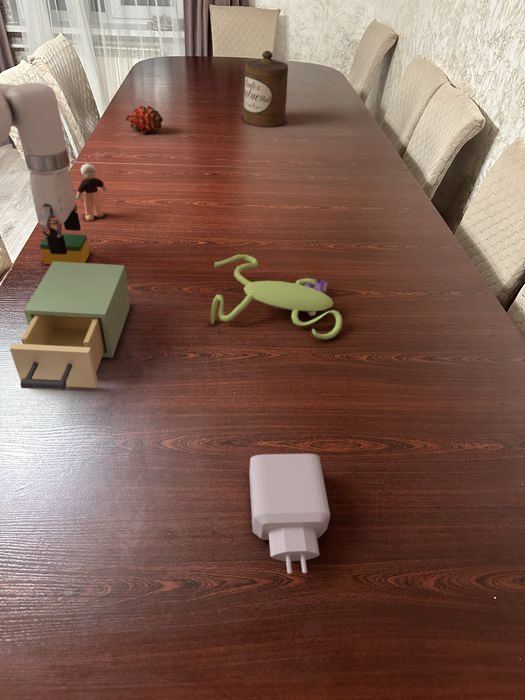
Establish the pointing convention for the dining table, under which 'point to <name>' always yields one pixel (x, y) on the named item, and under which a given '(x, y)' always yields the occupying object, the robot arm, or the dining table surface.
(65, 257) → the sponge
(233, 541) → the dining table surface
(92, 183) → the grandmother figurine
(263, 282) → the figurine
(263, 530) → the charger
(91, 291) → the cabinet
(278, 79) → the wooden container
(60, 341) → the drawer
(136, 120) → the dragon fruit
